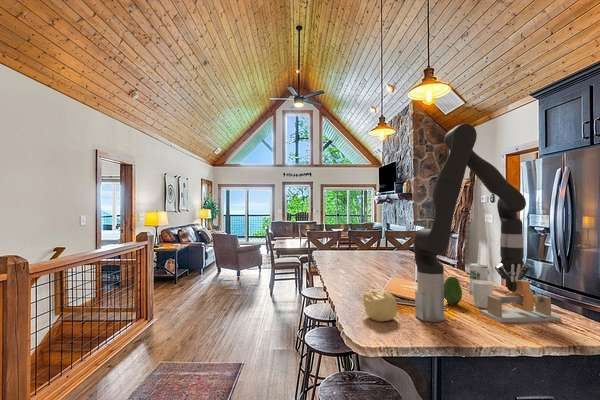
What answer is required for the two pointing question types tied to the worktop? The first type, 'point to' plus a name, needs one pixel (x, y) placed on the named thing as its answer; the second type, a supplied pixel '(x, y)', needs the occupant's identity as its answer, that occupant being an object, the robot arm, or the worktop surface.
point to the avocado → (452, 291)
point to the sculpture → (380, 305)
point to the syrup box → (478, 273)
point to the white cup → (481, 292)
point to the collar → (524, 296)
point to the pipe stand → (518, 315)
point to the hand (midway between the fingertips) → (512, 291)
